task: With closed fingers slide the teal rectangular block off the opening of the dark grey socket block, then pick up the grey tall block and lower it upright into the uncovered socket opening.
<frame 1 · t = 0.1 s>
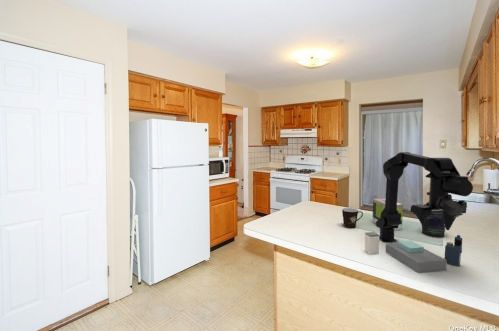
hand: (436, 230, 97), 15 cm above the table, fingers open, 9 cm apart
grey tall block: (371, 252, 112), on the table
socket: (413, 260, 104), on the table
coffee mug: (352, 227, 145), on the table
vaping device: (452, 264, 101), on the table
tea box: (386, 226, 146), on the table
storage jar: (432, 234, 132), on the table
teal rectangular block: (410, 246, 105), point 5 cm above the table, slide at 0.0 cm
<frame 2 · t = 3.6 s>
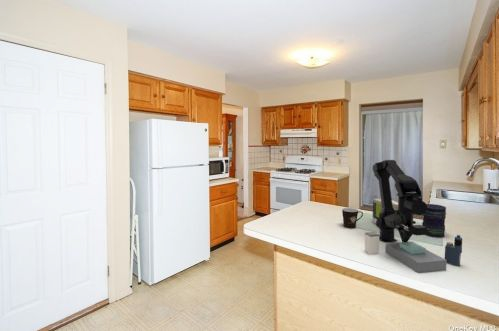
hand: (404, 243, 109), 5 cm above the table, fingers closed
teal rectangular block: (412, 247, 104), point 5 cm above the table, slide at 1.1 cm, touching gripper
everything else where it was.
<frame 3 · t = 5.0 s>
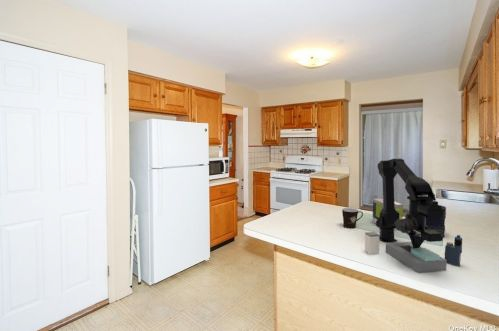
hand: (415, 249, 102), 5 cm above the table, fingers closed
teal rectangular block: (424, 254, 98), point 5 cm above the table, slide at 7.4 cm, touching gripper
everything else where it was.
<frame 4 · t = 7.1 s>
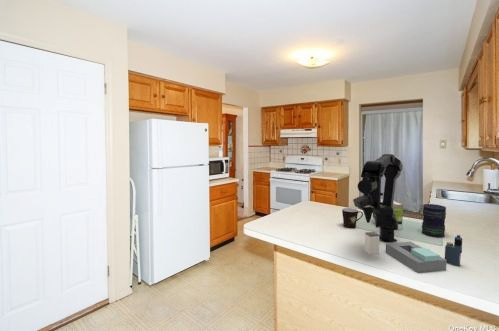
hand: (372, 224, 111), 12 cm above the table, fingers open, 6 cm apart
teal rectangular block: (424, 254, 98), point 5 cm above the table, slide at 7.4 cm
everything else where it was.
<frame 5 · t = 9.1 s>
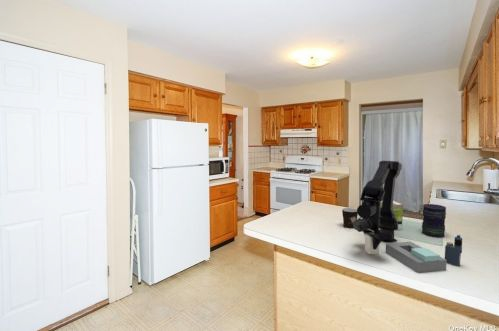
hand: (371, 247, 112), 2 cm above the table, fingers closed on grey tall block, 4 cm apart
grey tall block: (371, 252, 112), on the table, touching gripper
everything else where it was.
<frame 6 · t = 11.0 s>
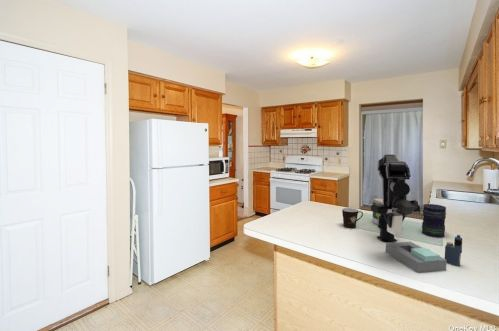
hand: (394, 227, 107), 12 cm above the table, fingers closed on grey tall block, 4 cm apart
grey tall block: (394, 232, 107), point 10 cm above the table, touching gripper
everything else where it was.
when the fingers open (5 cm above the table, at t = 13.0 s): grey tall block drops 3 cm, resting in socket.
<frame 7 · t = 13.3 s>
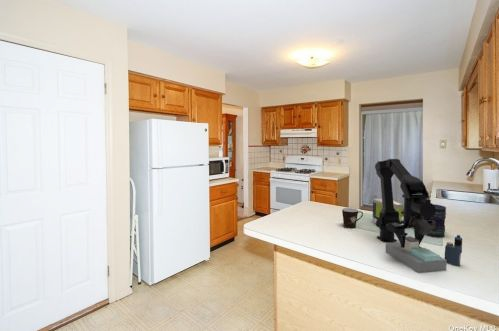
hand: (410, 246, 105), 5 cm above the table, fingers open, 6 cm apart
grey tall block: (409, 258, 106), resting in socket
everything else where it was.
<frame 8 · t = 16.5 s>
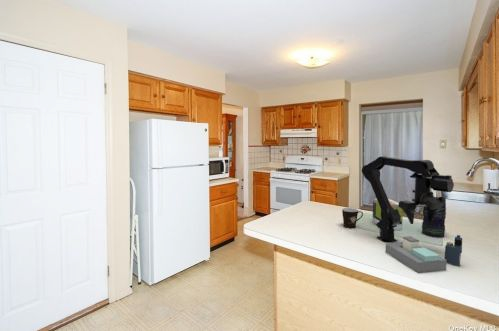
hand: (421, 223, 112), 13 cm above the table, fingers open, 9 cm apart
nothing on the table moved.
at the end: teal rectangular block slide at 7.4 cm; grey tall block 0.1 cm from the target spot on the socket, point 0.0 cm above the socket's base; grey tall block tilted 0° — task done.
